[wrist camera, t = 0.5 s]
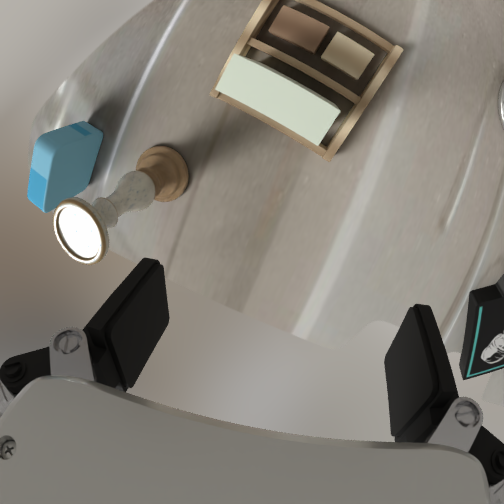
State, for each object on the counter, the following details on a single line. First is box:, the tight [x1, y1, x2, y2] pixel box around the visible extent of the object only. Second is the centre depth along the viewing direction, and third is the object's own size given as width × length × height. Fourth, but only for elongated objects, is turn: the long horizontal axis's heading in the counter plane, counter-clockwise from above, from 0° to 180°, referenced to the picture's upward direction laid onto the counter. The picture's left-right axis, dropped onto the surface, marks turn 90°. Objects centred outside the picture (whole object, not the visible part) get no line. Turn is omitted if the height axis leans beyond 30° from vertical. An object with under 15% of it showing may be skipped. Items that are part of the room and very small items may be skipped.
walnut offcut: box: [268, 5, 330, 55], centre depth 30 cm, size 4×6×3 cm, turn 63°
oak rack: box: [209, 0, 404, 162], centre depth 32 cm, size 18×17×3 cm
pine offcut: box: [321, 31, 375, 80], centre depth 30 cm, size 4×5×3 cm
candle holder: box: [53, 146, 189, 265], centre depth 36 cm, size 9×9×20 cm
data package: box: [27, 121, 103, 213], centre depth 41 cm, size 12×4×12 cm, turn 148°
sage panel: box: [215, 53, 340, 146], centre depth 30 cm, size 4×11×12 cm, turn 62°
